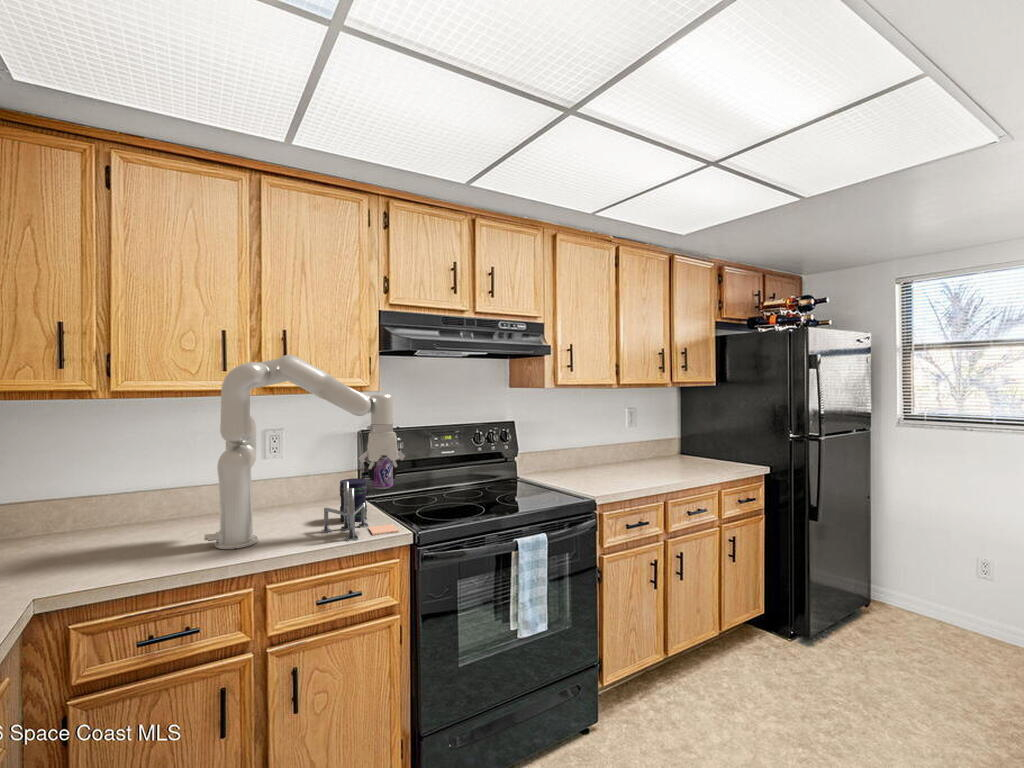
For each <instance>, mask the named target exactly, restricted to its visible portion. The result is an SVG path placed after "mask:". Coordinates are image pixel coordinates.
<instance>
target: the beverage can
mask: <svg viewBox="0 0 1024 768" xmlns="http://www.w3.org/2000/svg"><path fill="white" fill-rule="evenodd" d="M381 456H382V457H381V458H380V459H379V460H378V461H377V462H374V465H373V472H374V480H373V481H372V487H373V488H375V489H377V490H386V489H390V488H391V487H393V486H394V479H393V461H391V460H390V458H388V457H387V456H388V455H381Z"/></svg>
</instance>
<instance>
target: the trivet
mask: <svg viewBox="0 0 1024 768" xmlns="http://www.w3.org/2000/svg"><path fill="white" fill-rule="evenodd" d="M368 528H369V529H368ZM367 529H368V531H369V530H370V531H371V532H370V531H369V532H370V534H371V533H372V534H371V535H372V536H379V535H378V534H381V535H385V534H384V533H388V534H392V533H391V532H396V533H400V530H399V529H398V528H397V526H395V524H394V523H390V524H381V525H375V526H374V525H373V526H368V527H367Z"/></svg>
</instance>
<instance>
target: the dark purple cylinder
mask: <svg viewBox="0 0 1024 768" xmlns="http://www.w3.org/2000/svg"><path fill="white" fill-rule="evenodd" d="M345 481H349V488H354V506H355V509H356V508H357V507H358V506H360V505H361V503H365V521H367V520H368V519H367V518H368V517H367V512H368V507H367V506H368V505H367V489H368V488H367V479H365V478H358V477H357V478H346V479H342V480H340V481H339V484H340V485H339V497H340V506H339V511H343V512H344V482H345ZM339 515H340V514H339ZM339 517H340V523H342V522H344V515H340V516H339ZM355 522H359V523H361V510H360V511H358V512H357V513H356V514H355Z"/></svg>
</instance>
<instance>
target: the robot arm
mask: <svg viewBox="0 0 1024 768" xmlns="http://www.w3.org/2000/svg"><path fill="white" fill-rule="evenodd" d="M286 382H289V383H291V384H292V385H295V386H297V387H299V388H301V389H303V390H304V391H307V392H308V393H311V394H312V395H314V396H316V397H318V398H319V399H322V400H325V401H327V402H329V403H330V404H332V405H335V406H336V407H338V408H340V409H342V410H343V411H346V412H348V413H349V414H352V415H353V416H356V417H363V416H366V415H367V414H370V425H366V431H367V430H368V431H370V432H369V433H368V437H367V447H366V448H367V449H366V451H365V452H364V453H363V454H361V456H359V458H358V460H359V461H360V463H362V464H363V465H364V466H365V468H367V469H368V471H367V473H368V476H367V477H368V479H370V481H372V482H373V480H374V472H373V465H374V462H377V461H378V460H379V459H380V458H381V457H382V456H381V455H388V456H387V457H388V458H390V460H391V461H393V480H394V479H396V476H397V468H398V466H399V465H400V464H401V462H402V461H403V460H404V459H405V458H406V455H405V454H404V453H403V452H401V451H400V450H399V449H398V442H397V440H398V439H397V433H396V432H395V431H394V418H393V415H394V407H393V406H394V404H393V403H394V398H393V396H392V395H391V394H390V393H376V394H375V393H374V394H369V393H368V394H367V393H361V392H360V391H357V390H355V389H354V388H352V387H350V386H348V385H346V384H344V383H343V382H341V381H340V380H338V379H336V378H335V377H334V376H333V375H331V374H329V373H328V372H326V371H324V370H322V369H320V368H319V367H317V366H315V365H312V364H311V363H309V362H308V361H305V360H304V359H302V358H300V357H298V356H296V355H294V354H286V355H283V356H281V357H280V358H276V359H271V360H265V361H259V362H256V361H254V362H253V361H251V362H245V363H242V364H240V365H238V366H236V367H234V368H232V369H231V370H230V371H229V372H228V373H227V375H226V376H225V378H224V380H223V382H222V385H221V389H220V390H221V393H220V425H219V427H220V428H219V429H220V430H219V432H220V433H219V434H220V437H222V439H223V440H224V441H225V451H224V452H222V453H221V455H220V456H219V458H218V462H217V468H216V469H217V477H218V490H219V491H218V493H219V496H218V497H219V531H218V532H215V533H207V534H206V533H205V534H204V541H208V542H213V541H215V542H214V547H215V548H216V549H218V550H219V549H220V550H234V549H235V548H236V549H241V548H246V547H250V546H252V545H254V544H256V543H258V541H259V537H258V536H257V534H256V535H255V534H254V532H253V530H254V529H253V526H254V525H253V523H254V522H253V521H254V520H253V516H254V515H253V483H252V482H253V481H252V480H253V479H252V467H253V466H254V465H255V462H256V460H257V425H256V422H255V419H254V418H253V417H252V416H251V397H250V394H251V391H252V390H253V389H257V388H263V387H267V386H271V385H276V384H280V383H286ZM366 458H367V460H369V462H367V461H366V460H365V459H366ZM236 549H235V550H236Z"/></svg>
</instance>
